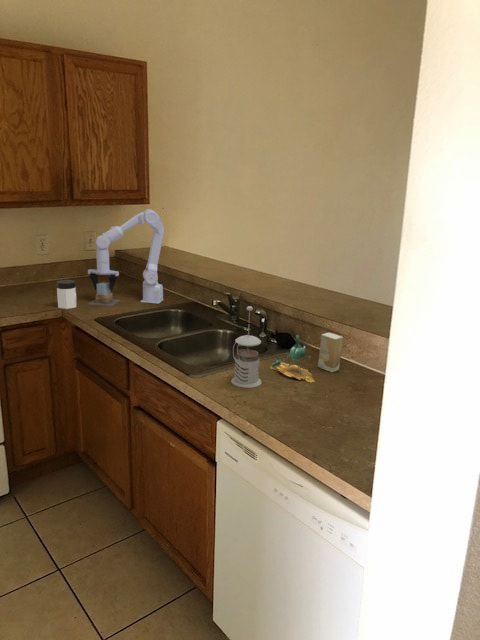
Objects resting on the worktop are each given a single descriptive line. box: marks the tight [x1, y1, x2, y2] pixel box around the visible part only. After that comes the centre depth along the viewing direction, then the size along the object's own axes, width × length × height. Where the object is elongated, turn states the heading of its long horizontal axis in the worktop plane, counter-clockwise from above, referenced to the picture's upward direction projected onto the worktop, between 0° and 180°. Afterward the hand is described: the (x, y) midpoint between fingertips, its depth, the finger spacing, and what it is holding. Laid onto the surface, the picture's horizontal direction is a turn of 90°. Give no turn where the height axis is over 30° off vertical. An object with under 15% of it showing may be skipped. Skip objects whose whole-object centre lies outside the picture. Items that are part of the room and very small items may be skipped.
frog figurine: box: [269, 334, 315, 384], centre depth 174 cm, size 10×18×15 cm, turn 41°
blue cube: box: [96, 281, 112, 295], centre depth 250 cm, size 4×4×5 cm
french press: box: [230, 305, 262, 389], centre depth 165 cm, size 10×12×25 cm
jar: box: [56, 279, 77, 310], centre depth 241 cm, size 9×8×12 cm
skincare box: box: [317, 332, 344, 373], centre depth 180 cm, size 6×4×12 cm
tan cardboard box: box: [95, 296, 114, 304], centre depth 252 cm, size 6×6×2 cm
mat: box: [87, 298, 121, 307], centre depth 252 cm, size 12×12×1 cm
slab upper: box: [95, 292, 114, 300], centre depth 251 cm, size 6×6×2 cm
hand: (104, 289), depth 250 cm, fingers open, 7 cm apart
